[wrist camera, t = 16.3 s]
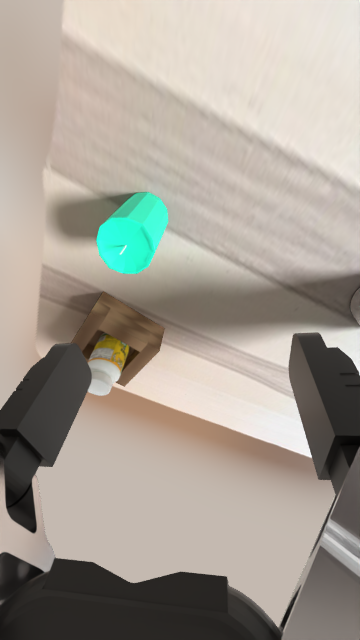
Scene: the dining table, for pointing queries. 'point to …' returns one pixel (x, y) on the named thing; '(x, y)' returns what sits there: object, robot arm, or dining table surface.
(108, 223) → the candle
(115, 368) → the supplement bottle
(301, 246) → the dining table surface
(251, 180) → the dining table surface
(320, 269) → the dining table surface
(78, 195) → the dining table surface
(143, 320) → the walnut tray
